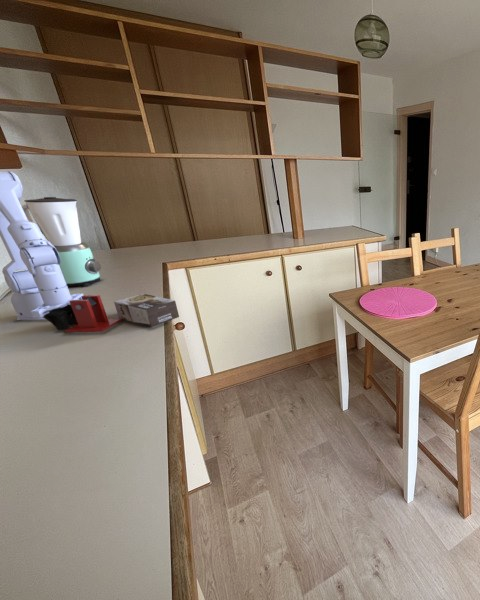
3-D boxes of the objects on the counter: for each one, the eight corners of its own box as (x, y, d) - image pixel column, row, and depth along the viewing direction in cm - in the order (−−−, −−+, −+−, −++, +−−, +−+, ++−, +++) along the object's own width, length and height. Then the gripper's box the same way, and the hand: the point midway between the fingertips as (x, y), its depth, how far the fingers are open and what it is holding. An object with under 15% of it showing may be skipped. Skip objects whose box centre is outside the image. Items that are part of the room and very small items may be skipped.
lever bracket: (66, 334, 91) (53, 303, 88) (88, 322, 99) (77, 293, 95) (103, 333, 92) (92, 302, 89) (122, 321, 100) (113, 293, 96)
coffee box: (119, 319, 101) (150, 329, 95) (113, 301, 99) (145, 309, 93) (149, 310, 109) (180, 318, 103) (144, 292, 107) (176, 300, 101)
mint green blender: (113, 278, 140) (87, 196, 128) (93, 287, 128) (62, 198, 115) (63, 280, 136) (30, 196, 124) (37, 290, 124) (-2, 198, 111)
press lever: (60, 323, 92) (52, 315, 91) (69, 319, 95) (61, 311, 94) (90, 307, 92) (82, 299, 90) (98, 303, 94) (90, 295, 93)
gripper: (44, 295, 84) (62, 340, 88) (88, 279, 97) (102, 319, 102) (14, 296, 83) (35, 341, 88) (63, 280, 96) (79, 319, 101)
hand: (69, 329), depth 95 cm, fingers closed on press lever, 3 cm apart
